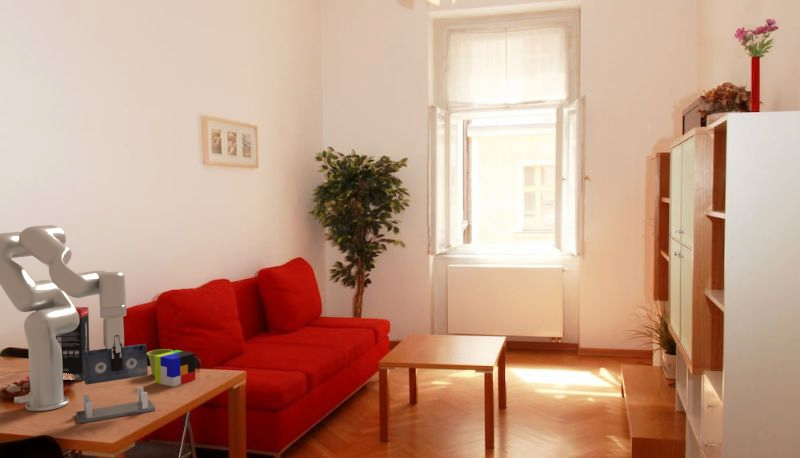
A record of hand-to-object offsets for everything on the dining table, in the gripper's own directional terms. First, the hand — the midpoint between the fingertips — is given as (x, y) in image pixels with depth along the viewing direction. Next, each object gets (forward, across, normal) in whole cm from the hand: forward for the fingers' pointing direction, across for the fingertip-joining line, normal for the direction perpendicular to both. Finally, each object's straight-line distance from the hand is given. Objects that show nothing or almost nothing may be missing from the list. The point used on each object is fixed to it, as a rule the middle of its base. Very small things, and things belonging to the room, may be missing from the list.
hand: (116, 369), depth 206 cm
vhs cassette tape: (+3, 0, 0) cm, 3 cm away
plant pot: (+14, -39, +21) cm, 46 cm away
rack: (+14, 0, 0) cm, 14 cm away
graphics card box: (+13, -51, -11) cm, 54 cm away
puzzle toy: (+14, -26, +24) cm, 38 cm away
